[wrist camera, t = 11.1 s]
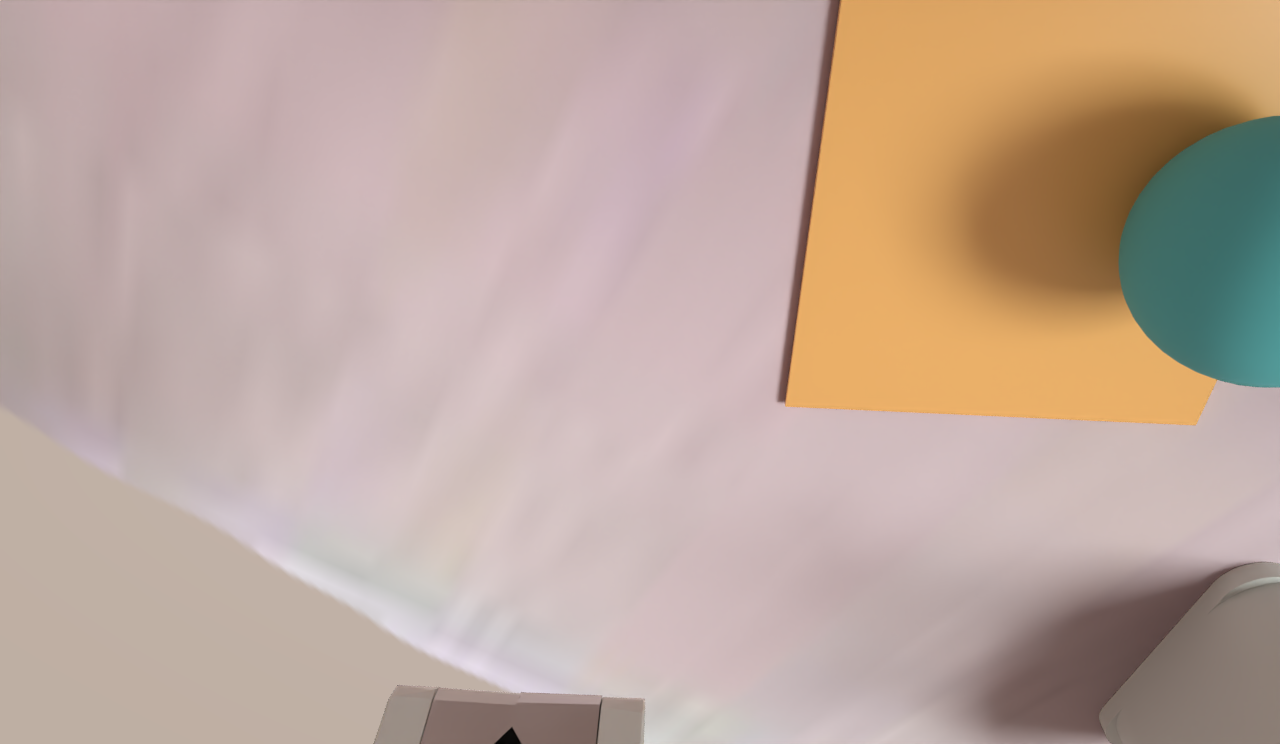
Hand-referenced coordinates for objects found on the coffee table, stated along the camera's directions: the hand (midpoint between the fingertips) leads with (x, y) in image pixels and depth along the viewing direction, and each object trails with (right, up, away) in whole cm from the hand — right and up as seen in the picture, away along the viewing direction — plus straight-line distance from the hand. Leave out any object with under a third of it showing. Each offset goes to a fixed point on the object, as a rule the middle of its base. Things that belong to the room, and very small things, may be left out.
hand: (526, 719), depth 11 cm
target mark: (+12, +8, +12) cm, 19 cm away
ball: (+16, +7, +9) cm, 19 cm away
